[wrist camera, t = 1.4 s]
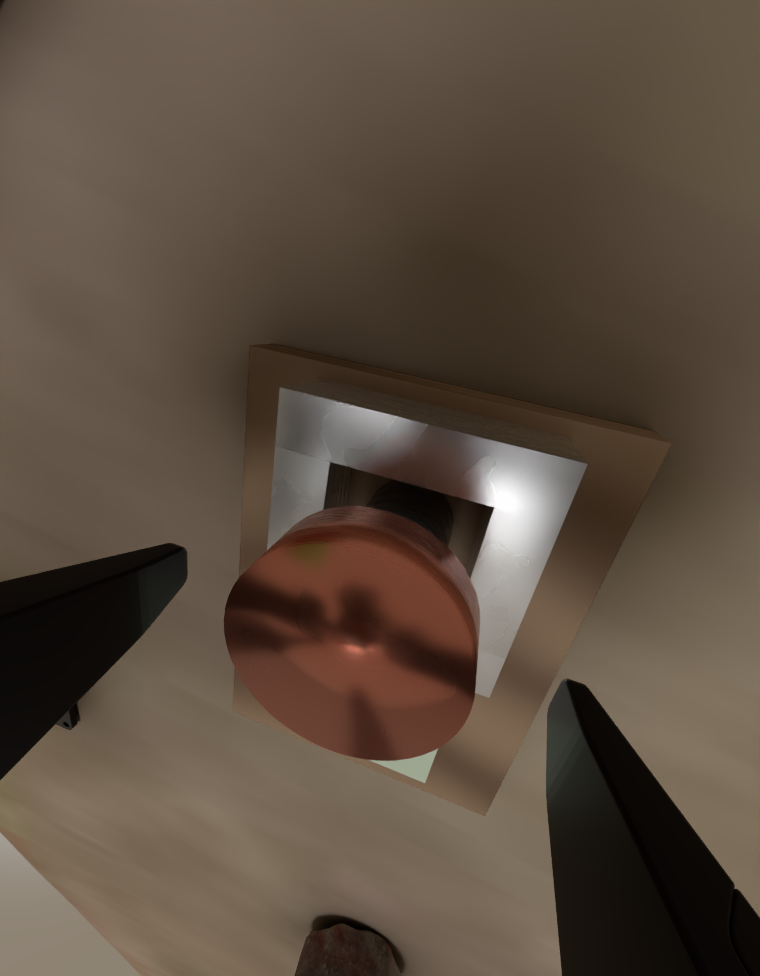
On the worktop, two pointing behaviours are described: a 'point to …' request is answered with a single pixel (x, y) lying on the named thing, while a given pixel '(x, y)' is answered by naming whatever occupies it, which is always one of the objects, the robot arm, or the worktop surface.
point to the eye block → (433, 485)
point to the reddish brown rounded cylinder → (362, 627)
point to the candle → (346, 954)
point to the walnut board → (562, 585)
